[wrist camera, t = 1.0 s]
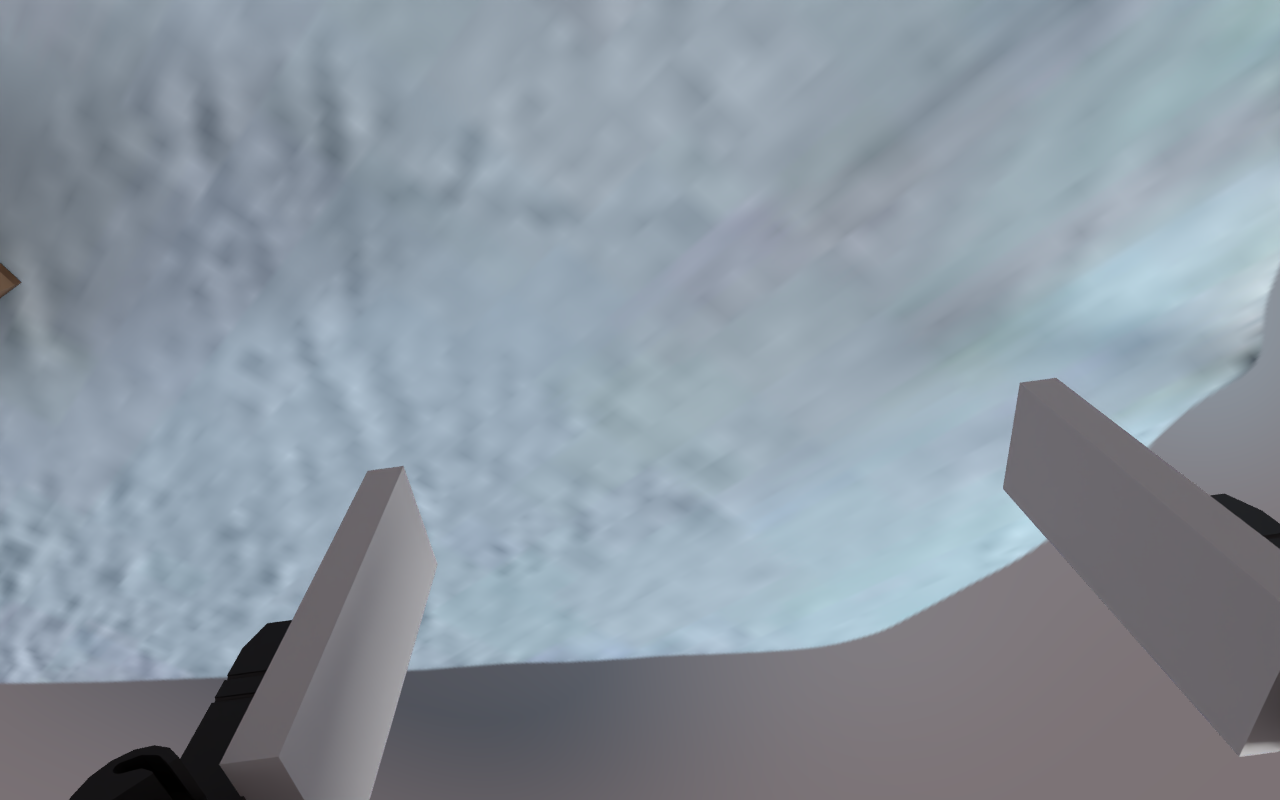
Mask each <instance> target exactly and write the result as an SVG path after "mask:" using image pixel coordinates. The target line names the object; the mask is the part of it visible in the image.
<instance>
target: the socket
mask: <svg viewBox="0 0 1280 800" xmlns="http://www.w3.org/2000/svg"><path fill="white" fill-rule="evenodd" d="M20 283H21V282H20V281H19V280H18V279H17V278H16V277H15V276H14V275H13V274H12V273H11V272H10V271H8V270H7V269H6V268H5V267H4V266H3V265H2V264H1V263H0V298H1V297H3V296H4V295H5V294H7V293H8V292H9V291H11V290H12V289H13V288H15V287H16V286H17V285H19V284H20Z"/></svg>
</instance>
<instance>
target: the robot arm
mask: <svg viewBox="0 0 1280 800" xmlns="http://www.w3.org/2000/svg"><path fill="white" fill-rule="evenodd" d="M1003 489H1004V490H1005V492H1006V493H1007V494H1008V495H1009V496H1010V497H1011V498H1012V500H1013V501H1014V502H1015V503H1016V504H1017V505H1018V506H1019V508H1020V509H1021V510H1022V511H1023V512H1024V513H1025V514H1026V515H1027V517H1028V518H1029V519H1030V520H1031V521H1032V522H1033V523H1034V525H1035V526H1036V527H1037V528H1038V529H1039V530H1040V531H1041V532H1042V534H1043V535H1044V536H1045V537H1046V538H1047V539H1048V540H1049V542H1050V543H1051V544H1052V545H1053V546H1054V547H1055V548H1056V549H1057V551H1058V552H1059V553H1060V554H1061V555H1062V556H1063V557H1064V559H1066V561H1067V562H1068V563H1069V564H1070V565H1071V567H1072V568H1073V569H1074V570H1075V571H1076V572H1077V573H1078V574H1079V575H1080V577H1081V578H1082V579H1083V580H1084V581H1085V582H1086V584H1087V585H1088V586H1089V587H1090V588H1091V589H1092V590H1093V591H1094V593H1095V594H1096V595H1097V596H1098V597H1099V598H1100V599H1101V601H1102V602H1103V603H1104V604H1105V605H1106V606H1107V607H1108V609H1109V610H1110V611H1111V612H1112V613H1113V614H1114V615H1115V616H1116V617H1117V619H1118V620H1119V621H1120V622H1121V623H1122V624H1123V626H1124V627H1125V628H1126V629H1127V630H1128V631H1129V632H1130V633H1131V635H1132V636H1133V637H1134V638H1135V639H1136V640H1137V641H1138V643H1139V644H1140V645H1141V646H1142V647H1143V648H1144V649H1145V650H1146V652H1147V653H1148V654H1149V655H1150V656H1151V657H1152V658H1153V660H1154V661H1155V662H1156V663H1157V664H1158V665H1159V666H1160V667H1161V669H1162V670H1163V671H1164V672H1165V673H1166V674H1167V675H1168V677H1169V678H1170V679H1171V680H1172V681H1173V682H1174V683H1175V685H1176V686H1177V687H1178V688H1179V689H1180V690H1181V691H1182V692H1183V694H1184V695H1185V696H1186V697H1187V698H1188V699H1189V700H1190V702H1191V703H1192V704H1193V705H1194V706H1195V707H1196V708H1197V710H1198V711H1199V712H1200V713H1201V714H1202V715H1203V716H1204V717H1205V719H1206V720H1207V721H1208V722H1209V723H1210V724H1211V725H1212V726H1213V728H1214V729H1215V730H1216V731H1217V732H1218V733H1219V735H1220V736H1221V737H1222V738H1223V739H1224V740H1225V741H1226V742H1227V744H1228V745H1229V746H1230V747H1231V748H1232V749H1233V750H1234V751H1235V753H1236V754H1237V755H1238V756H1239V757H1241V756H1248V755H1256V754H1264V753H1272V752H1279V751H1280V524H1279V523H1278V522H1277V521H1275V520H1274V519H1273V518H1271V517H1270V516H1269V515H1267V514H1266V513H1264V512H1263V511H1261V510H1259V509H1257V508H1255V507H1253V506H1251V505H1248V504H1246V503H1244V502H1242V501H1240V500H1237V499H1235V498H1233V497H1231V496H1229V495H1226V494H1218V495H1211V496H1210V495H1208V494H1207V493H1206V492H1204V491H1203V490H1202V489H1201V488H1199V487H1198V486H1197V485H1195V484H1194V483H1193V482H1191V481H1190V480H1189V479H1187V478H1186V477H1185V476H1184V475H1182V474H1181V473H1180V472H1178V471H1177V470H1176V469H1174V468H1173V467H1172V466H1171V465H1169V464H1168V463H1166V462H1165V461H1164V460H1163V459H1161V458H1160V457H1159V456H1157V455H1156V454H1155V453H1153V452H1152V451H1151V450H1150V449H1148V448H1147V447H1146V446H1144V445H1143V444H1142V443H1140V442H1139V441H1138V440H1137V439H1135V438H1134V437H1133V436H1131V435H1130V434H1129V433H1127V432H1126V431H1125V430H1123V429H1122V428H1121V427H1120V426H1118V425H1117V424H1116V423H1114V422H1113V421H1112V420H1110V419H1109V418H1108V417H1106V416H1105V415H1104V414H1103V413H1101V412H1100V411H1099V410H1097V409H1096V408H1095V407H1093V406H1092V405H1091V404H1090V403H1088V402H1087V401H1086V400H1084V399H1083V398H1082V397H1080V396H1079V395H1078V394H1076V393H1075V392H1074V391H1073V390H1071V389H1070V388H1069V387H1067V386H1066V385H1065V384H1063V383H1062V382H1061V381H1059V380H1058V379H1057V378H1052V379H1045V380H1037V381H1030V382H1023V383H1020V386H1019V392H1018V398H1017V404H1016V411H1015V417H1014V423H1013V429H1012V435H1011V442H1010V448H1009V454H1008V460H1007V466H1006V473H1005V479H1004V485H1003ZM436 568H437V562H436V559H435V556H434V553H433V550H432V547H431V544H430V541H429V538H428V536H427V533H426V530H425V527H424V524H423V521H422V518H421V515H420V512H419V509H418V507H417V504H416V501H415V498H414V495H413V492H412V489H411V486H410V483H409V481H408V478H407V475H406V472H405V469H404V466H400V467H393V468H386V469H378V470H371V471H367V473H366V475H365V477H364V479H363V481H362V483H361V485H360V487H359V489H358V491H357V493H356V495H355V497H354V499H353V501H352V503H351V505H350V507H349V509H348V511H347V513H346V515H345V517H344V519H343V521H342V523H341V525H340V527H339V529H338V531H337V533H336V535H335V537H334V539H333V541H332V543H331V545H330V547H329V549H328V551H327V553H326V554H325V556H324V558H323V560H322V562H321V564H320V566H319V568H318V570H317V572H316V574H315V576H314V578H313V580H312V582H311V584H310V586H309V588H308V590H307V592H306V594H305V596H304V598H303V600H302V602H301V604H300V606H299V608H298V610H297V612H296V614H295V616H294V618H293V620H289V621H282V622H274V623H267V624H266V625H265V626H264V627H263V628H262V629H261V630H260V631H259V632H258V633H257V634H256V635H255V636H254V637H253V638H252V639H251V640H250V641H249V642H248V643H247V644H246V645H245V646H244V647H243V648H242V650H241V652H240V654H239V655H238V657H237V659H236V661H235V662H234V664H233V666H232V668H231V670H230V671H229V673H228V675H227V676H228V679H227V680H225V681H224V682H223V684H222V686H221V687H220V689H219V691H218V693H217V695H216V696H215V703H211V705H210V707H209V709H208V710H207V712H206V714H205V716H204V718H203V719H202V721H201V723H200V725H199V727H198V728H197V730H196V732H195V734H194V736H193V737H192V739H191V741H190V743H189V744H188V746H187V748H186V750H185V751H184V753H183V755H182V757H181V758H180V759H179V757H178V756H177V755H176V754H175V753H174V752H173V751H172V750H171V749H170V748H167V747H161V746H155V745H154V746H149V747H145V748H140V749H136V750H133V751H131V752H129V753H127V754H125V755H123V756H121V757H118V758H117V759H114V760H112V761H111V762H109V763H108V764H107V765H105V766H104V767H102V768H101V769H100V770H98V771H97V772H96V773H94V774H93V775H92V776H90V777H89V778H88V779H87V780H86V781H85V783H84V784H83V785H82V786H81V787H80V788H79V789H78V790H77V791H76V792H75V793H74V794H73V795H72V796H71V798H70V800H369V799H370V796H371V793H372V789H373V785H374V782H375V778H376V775H377V772H378V768H379V765H380V761H381V758H382V754H383V751H384V748H385V744H386V741H387V737H388V734H389V730H390V727H391V723H392V720H393V717H394V713H395V709H396V706H397V703H398V699H399V695H400V692H401V689H402V685H403V682H404V678H405V675H406V672H407V668H408V665H409V661H410V658H411V654H412V651H413V647H414V644H415V640H416V637H417V634H418V630H419V627H420V623H421V620H422V616H423V613H424V609H425V606H426V602H427V599H428V595H429V592H430V589H431V585H432V582H433V578H434V575H435V571H436Z"/></svg>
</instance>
